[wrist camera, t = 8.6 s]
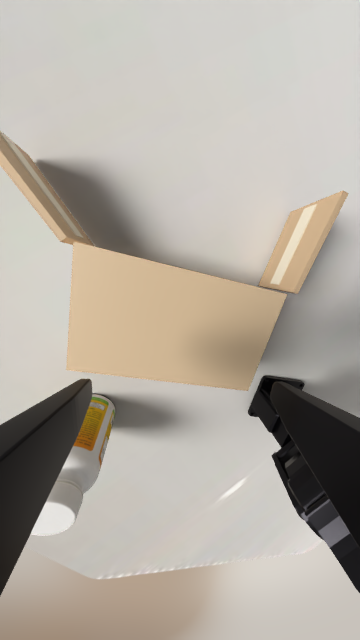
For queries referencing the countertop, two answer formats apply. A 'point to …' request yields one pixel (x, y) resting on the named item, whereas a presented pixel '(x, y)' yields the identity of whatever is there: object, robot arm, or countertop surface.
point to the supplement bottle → (78, 469)
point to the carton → (165, 321)
